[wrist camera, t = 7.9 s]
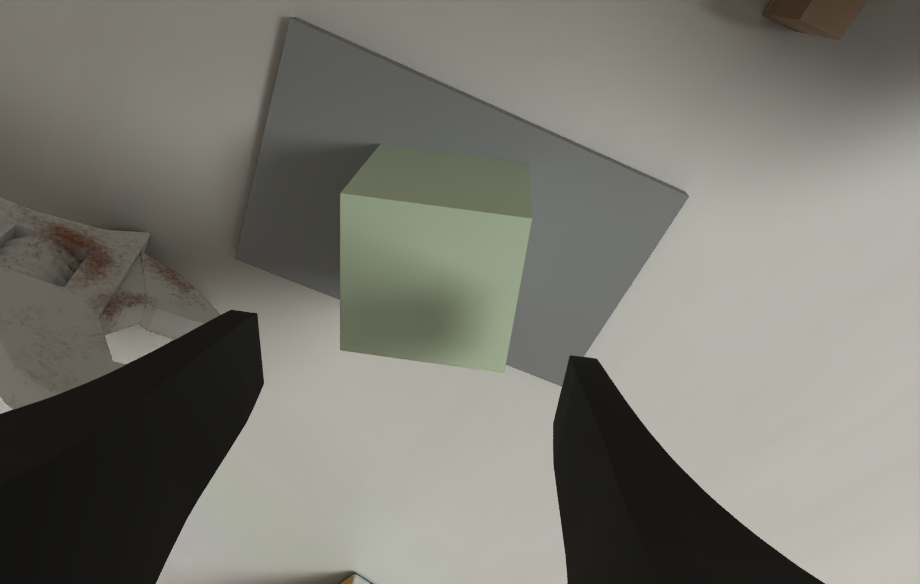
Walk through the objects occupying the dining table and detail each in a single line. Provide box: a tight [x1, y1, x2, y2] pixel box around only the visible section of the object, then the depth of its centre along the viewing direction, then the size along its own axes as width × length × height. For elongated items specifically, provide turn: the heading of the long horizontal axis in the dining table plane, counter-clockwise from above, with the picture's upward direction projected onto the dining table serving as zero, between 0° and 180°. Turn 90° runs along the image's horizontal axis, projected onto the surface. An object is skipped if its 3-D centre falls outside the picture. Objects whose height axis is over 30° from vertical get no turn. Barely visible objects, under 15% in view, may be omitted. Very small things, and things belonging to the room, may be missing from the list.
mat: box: [235, 17, 689, 386], centre depth 20 cm, size 14×9×1 cm, turn 68°
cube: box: [340, 144, 532, 373], centre depth 18 cm, size 5×5×5 cm
